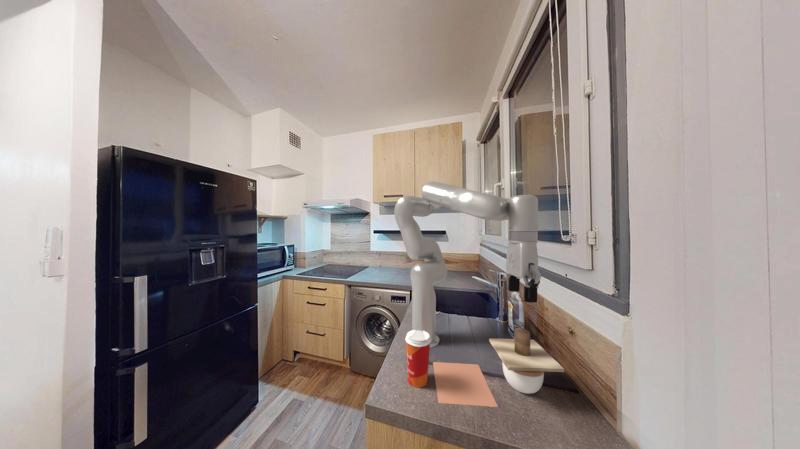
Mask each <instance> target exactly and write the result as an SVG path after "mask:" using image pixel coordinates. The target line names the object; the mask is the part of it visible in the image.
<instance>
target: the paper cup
mask: <svg viewBox="0 0 800 449" xmlns="http://www.w3.org/2000/svg"><path fill="white" fill-rule="evenodd" d="M404 339H405V342H406V364H407V366H406V369H407V381H408V384H409V385H410V386H412V387H413V388H424V387H425V386H427V383H428V376H429V363H430V361H429V360H430V343H431V338H430V335H429V334H428V333H427V332H426V331H421V330H418V331H417V330H412V329H411V330H410V331H408V332H407V333H406V336H405V338H404Z"/></svg>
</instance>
